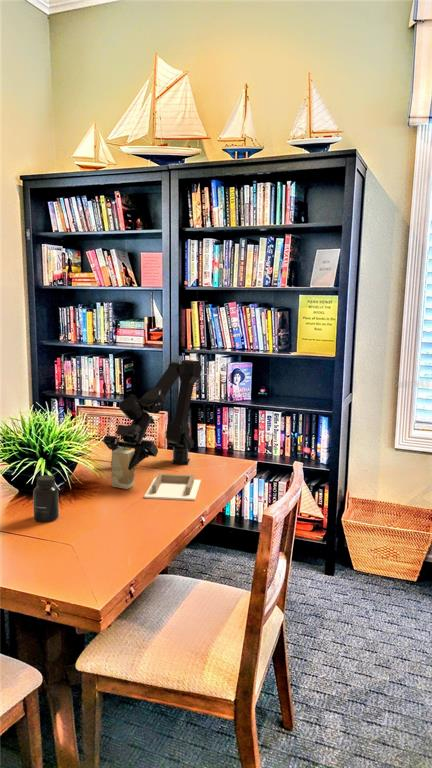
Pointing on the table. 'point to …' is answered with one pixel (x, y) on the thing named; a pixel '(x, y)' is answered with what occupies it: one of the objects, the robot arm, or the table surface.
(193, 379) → the robot arm
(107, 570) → the table surface
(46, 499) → the supplement bottle
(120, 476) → the skincare box
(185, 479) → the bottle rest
